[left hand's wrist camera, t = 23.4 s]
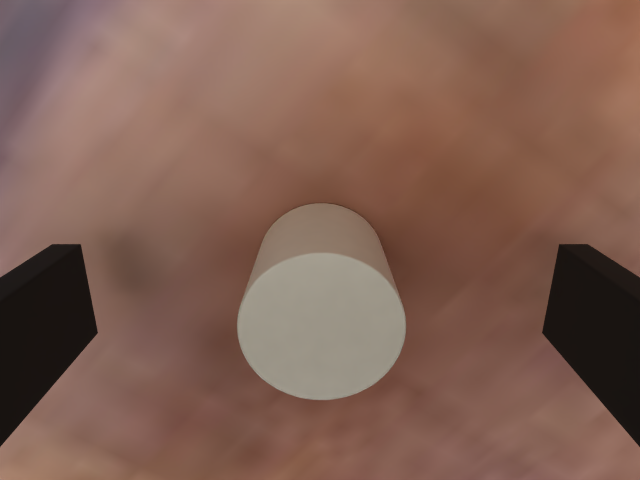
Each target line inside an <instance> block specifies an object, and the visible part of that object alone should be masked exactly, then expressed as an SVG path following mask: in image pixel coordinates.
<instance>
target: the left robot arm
mask: <svg viewBox="0 0 640 480" xmlns="http://www.w3.org/2000/svg"><path fill="white" fill-rule="evenodd" d="M97 333H98V331H97V326H96V321H95V316H94V311H93V306H92V300H91V295H90V290H89V285H88V280H87V275H86V269H85V264H84V259H83V254H82V249H81V244H52V245H51V246H49V247H47V248H46V249H44V250H43V251H41V252H40V253H38V254H36V255H35V256H33V257H32V258H30V259H29V260H27V261H25V262H24V263H22V264H21V265H19V266H18V267H16V268H14V269H13V270H11V271H10V272H8V273H7V274H5V275H4V276H2V277H0V446H1V445H2V444H3V443H4V442H5V441H6V439H7V438H8V437H9V436H10V435H11V434H12V432H13V431H14V430H15V429H16V428H17V427H18V425H19V424H20V423H21V422H22V421H23V420H24V418H25V417H26V416H27V415H28V414H29V413H30V411H31V410H32V409H33V408H34V407H35V406H36V404H37V403H38V402H39V401H40V400H41V399H42V397H43V396H44V395H45V394H46V393H47V392H48V390H49V389H50V388H51V387H52V386H53V385H54V383H55V382H56V381H57V380H58V379H59V378H60V376H61V375H62V374H63V373H64V372H65V371H66V369H67V368H68V367H69V366H70V365H71V364H72V362H73V361H74V360H75V359H76V358H77V357H78V355H79V354H80V353H81V352H82V351H83V350H84V348H85V347H86V346H87V345H88V344H89V343H90V341H91V340H92V339H93V338H94V337H95V336H96V334H97ZM542 333H543V334H544V336H545V337H546V338H547V339H548V340H549V341H550V343H551V344H552V345H553V346H554V347H555V348H556V350H557V351H558V352H559V353H560V354H561V355H562V357H563V358H564V359H565V360H566V361H567V362H568V364H569V365H570V366H571V367H572V368H573V369H574V371H575V372H576V373H577V374H578V375H579V376H580V378H581V379H582V380H583V381H584V382H585V383H586V385H587V386H588V387H589V388H590V389H591V390H592V392H593V393H594V394H595V395H596V396H597V397H598V399H599V400H600V401H601V402H602V403H603V404H604V406H605V407H606V408H607V409H608V410H609V411H610V413H611V414H612V415H613V416H614V417H615V418H616V420H617V421H618V422H619V423H620V424H621V425H622V427H623V428H624V429H625V430H626V431H627V432H628V434H629V435H630V436H631V437H632V438H633V440H634V441H635V442H636V443H637V444H638V445H639V447H640V277H638V276H636V275H635V274H633V273H632V272H630V271H629V270H627V269H626V268H624V267H622V266H621V265H619V264H618V263H616V262H615V261H613V260H611V259H610V258H608V257H607V256H605V255H604V254H602V253H600V252H599V251H597V250H596V249H594V248H593V247H591V246H589V245H588V244H559V249H558V254H557V259H556V264H555V269H554V275H553V280H552V285H551V290H550V295H549V300H548V306H547V311H546V316H545V321H544V326H543V331H542Z"/></svg>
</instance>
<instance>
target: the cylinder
mask: <svg viewBox="0 0 640 480" xmlns="http://www.w3.org/2000/svg"><path fill="white" fill-rule="evenodd" d="M237 333H238V339H239V343H240V347H241V349H242V352H243V354H244V356H245V358H246V360H247V361H248V363H249V365H250V366H251V367H252V369H253V370H254V371H255V372H256V373H257V374H258V375H259V376H260V377H261V378H262V379H263V380H264V381H266V382H267V383H268V384H270V385H271V386H273V387H275V388H276V389H278V390H280V391H282V392H285V393H287V394H290V395H293V396H296V397H300V398H305V399H312V400H331V399H339V398H343V397H347V396H350V395H353V394H356V393H359V392H361V391H363V390H365V389H367V388H368V387H370V386H372V385H373V384H375V383H376V382H377V381H379V380H380V379H381V378H382V377H383V376H384V375H385V374H386V373H387V372H388V371H389V370H390V369H391V367H392V366H393V365H394V363H395V362H396V360H397V358H398V356H399V354H400V352H401V350H402V347H403V344H404V340H405V335H406V317H405V312H404V308H403V304H402V301H401V299H400V296H399V293H398V290H397V287H396V285H395V282H394V279H393V276H392V273H391V270H390V268H389V265H388V262H387V259H386V256H385V254H384V251H383V248H382V245H381V243H380V240H379V238H378V236H377V234H376V232H375V231H374V229H373V228H372V227H371V225H370V224H369V223H368V222H367V221H366V220H365V219H364V218H363V217H361V216H360V215H359V214H357V213H355V212H354V211H352V210H350V209H348V208H345V207H342V206H339V205H335V204H328V203H314V204H307V205H304V206H300V207H297V208H295V209H293V210H291V211H289V212H287V213H285V214H284V215H283V216H281V217H280V218H279V219H278V220H277V221H276V222H275V223H274V224H273V225H272V226H271V227H270V229H269V230H268V231H267V233H266V235H265V237H264V239H263V241H262V244H261V247H260V250H259V252H258V255H257V258H256V261H255V264H254V267H253V270H252V273H251V276H250V279H249V282H248V285H247V287H246V290H245V293H244V296H243V299H242V302H241V305H240V308H239V313H238V319H237Z"/></svg>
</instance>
